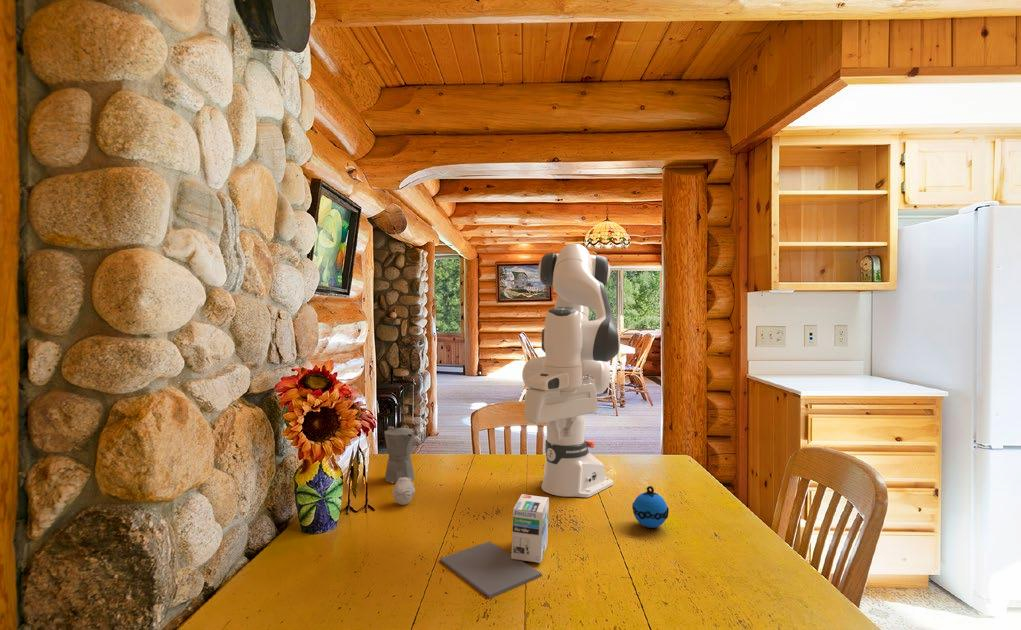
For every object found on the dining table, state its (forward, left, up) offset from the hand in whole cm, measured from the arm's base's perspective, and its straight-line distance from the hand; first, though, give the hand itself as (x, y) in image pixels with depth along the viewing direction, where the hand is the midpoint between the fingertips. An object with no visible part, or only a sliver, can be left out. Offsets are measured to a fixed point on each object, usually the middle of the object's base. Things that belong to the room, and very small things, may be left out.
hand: (562, 437), depth 123 cm
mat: (+21, 0, -24) cm, 32 cm away
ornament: (-22, +8, -24) cm, 34 cm away
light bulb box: (+10, 0, -24) cm, 26 cm away
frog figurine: (+19, -43, -24) cm, 53 cm away
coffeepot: (+11, -63, -24) cm, 68 cm away
